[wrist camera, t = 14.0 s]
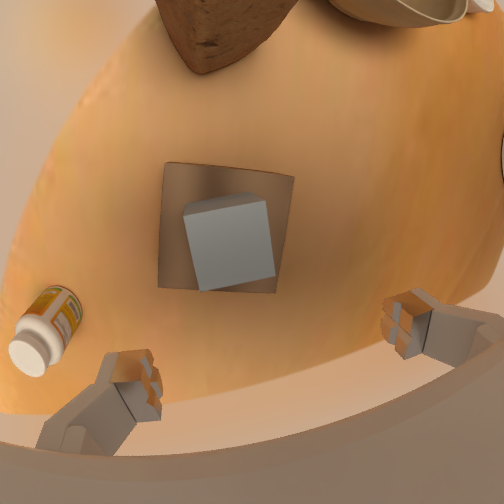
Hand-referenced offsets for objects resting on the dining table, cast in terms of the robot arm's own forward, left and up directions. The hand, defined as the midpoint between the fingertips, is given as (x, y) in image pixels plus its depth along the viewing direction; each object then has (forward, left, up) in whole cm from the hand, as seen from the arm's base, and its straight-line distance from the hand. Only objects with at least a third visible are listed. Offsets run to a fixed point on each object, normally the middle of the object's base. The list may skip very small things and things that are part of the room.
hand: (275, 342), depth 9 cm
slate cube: (0, 0, -15) cm, 15 cm away
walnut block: (0, 0, -20) cm, 20 cm away
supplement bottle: (+19, +6, -20) cm, 28 cm away
